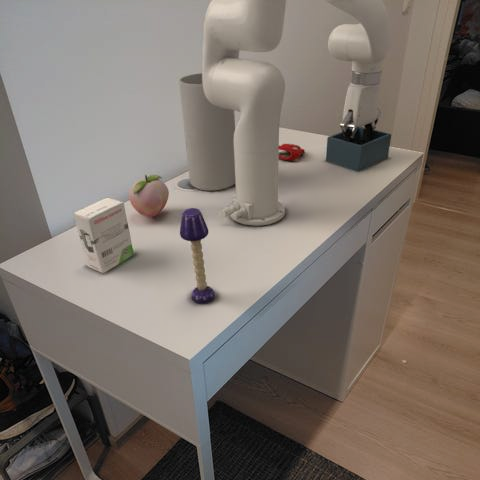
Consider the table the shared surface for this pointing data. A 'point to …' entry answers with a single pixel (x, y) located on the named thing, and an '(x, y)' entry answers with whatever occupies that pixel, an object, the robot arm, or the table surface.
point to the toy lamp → (197, 251)
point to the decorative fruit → (149, 195)
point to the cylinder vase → (207, 137)
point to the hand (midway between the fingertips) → (357, 147)
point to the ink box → (104, 234)
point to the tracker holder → (291, 151)
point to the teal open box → (357, 150)
